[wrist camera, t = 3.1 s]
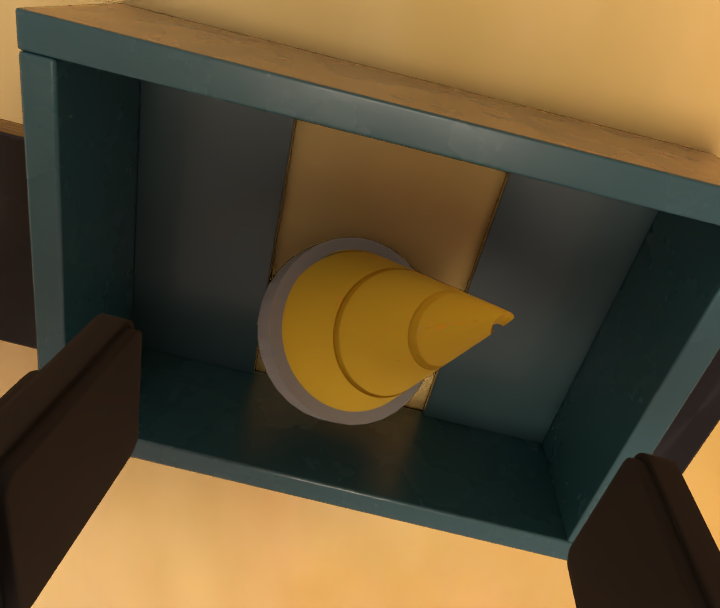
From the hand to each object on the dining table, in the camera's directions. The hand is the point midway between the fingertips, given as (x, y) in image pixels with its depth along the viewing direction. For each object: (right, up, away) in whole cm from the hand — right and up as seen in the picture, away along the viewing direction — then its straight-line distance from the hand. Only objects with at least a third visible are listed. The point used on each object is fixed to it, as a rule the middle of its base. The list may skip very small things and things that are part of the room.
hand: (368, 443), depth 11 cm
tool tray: (0, +4, +7) cm, 8 cm away
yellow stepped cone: (0, +4, +8) cm, 9 cm away
